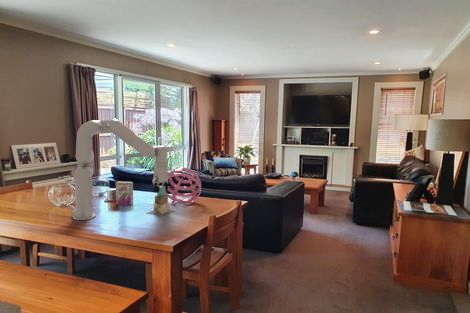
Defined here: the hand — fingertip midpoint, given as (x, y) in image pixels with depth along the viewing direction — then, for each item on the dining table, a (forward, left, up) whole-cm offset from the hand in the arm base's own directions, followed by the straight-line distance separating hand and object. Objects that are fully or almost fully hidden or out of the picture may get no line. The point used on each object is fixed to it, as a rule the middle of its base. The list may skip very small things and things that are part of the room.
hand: (161, 190), depth 210 cm
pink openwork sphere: (-1, +28, -15) cm, 32 cm away
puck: (0, 0, -3) cm, 3 cm away
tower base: (0, 0, -14) cm, 14 cm away
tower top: (0, 0, -8) cm, 8 cm away
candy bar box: (-36, +6, -15) cm, 39 cm away
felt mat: (0, 0, -14) cm, 14 cm away
